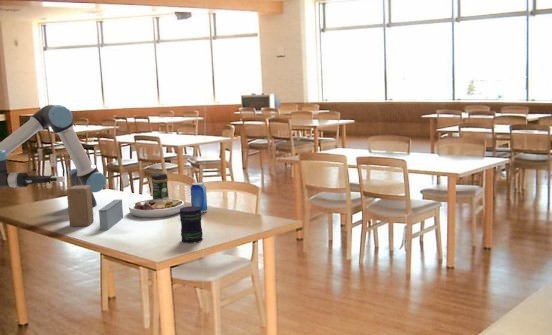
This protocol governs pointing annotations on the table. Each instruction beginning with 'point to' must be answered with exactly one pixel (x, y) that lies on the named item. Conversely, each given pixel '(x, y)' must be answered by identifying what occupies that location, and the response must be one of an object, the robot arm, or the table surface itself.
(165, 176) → the coffee jar
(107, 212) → the beam
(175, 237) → the table surface
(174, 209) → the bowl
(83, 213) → the wooden block
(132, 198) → the table surface
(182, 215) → the storage jar
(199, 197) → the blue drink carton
